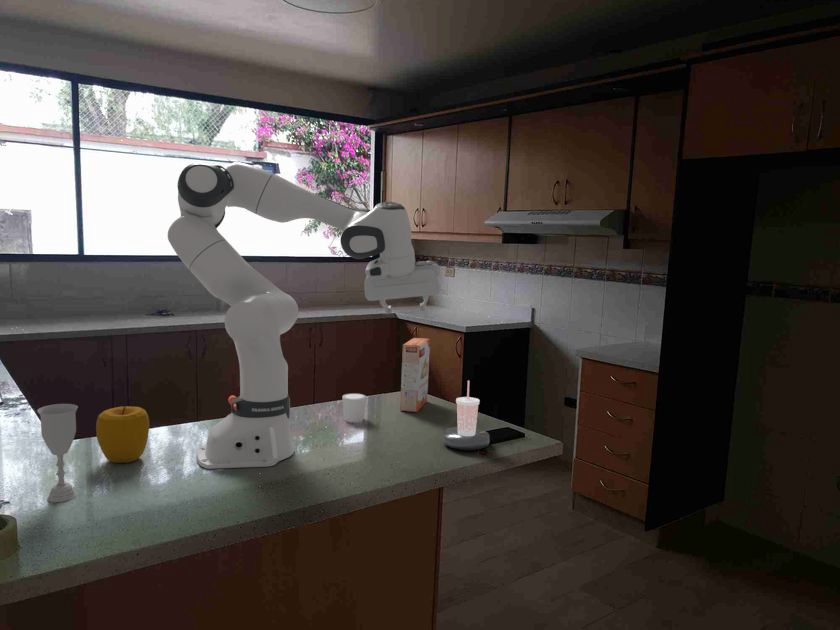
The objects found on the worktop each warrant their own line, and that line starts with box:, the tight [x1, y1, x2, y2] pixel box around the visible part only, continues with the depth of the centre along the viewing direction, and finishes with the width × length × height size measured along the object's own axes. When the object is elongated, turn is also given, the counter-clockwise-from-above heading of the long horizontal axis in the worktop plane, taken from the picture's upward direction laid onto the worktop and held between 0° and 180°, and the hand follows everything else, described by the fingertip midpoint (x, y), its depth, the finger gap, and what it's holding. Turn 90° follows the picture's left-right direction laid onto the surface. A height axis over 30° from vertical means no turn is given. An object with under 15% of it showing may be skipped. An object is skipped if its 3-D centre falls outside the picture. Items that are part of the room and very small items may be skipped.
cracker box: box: [399, 337, 431, 413], centre depth 191 cm, size 14×6×21 cm, turn 167°
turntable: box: [442, 426, 490, 452], centre depth 158 cm, size 12×12×3 cm
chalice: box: [37, 403, 79, 503], centre depth 120 cm, size 7×7×18 cm
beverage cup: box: [455, 380, 481, 436], centre depth 158 cm, size 6×6×14 cm
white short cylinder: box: [341, 392, 367, 423], centre depth 177 cm, size 7×7×7 cm
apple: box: [95, 406, 151, 464], centre depth 140 cm, size 11×11×13 cm
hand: (406, 311), depth 165 cm, fingers open, 8 cm apart
